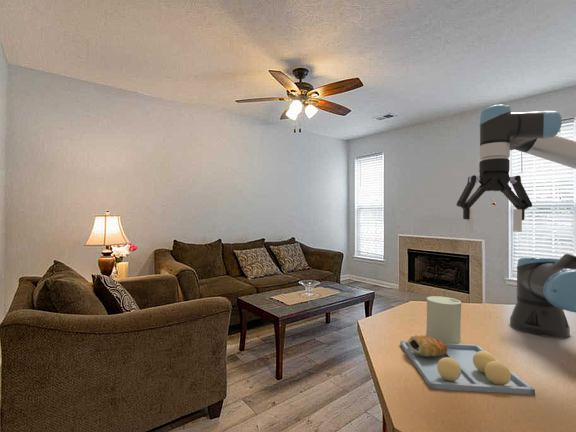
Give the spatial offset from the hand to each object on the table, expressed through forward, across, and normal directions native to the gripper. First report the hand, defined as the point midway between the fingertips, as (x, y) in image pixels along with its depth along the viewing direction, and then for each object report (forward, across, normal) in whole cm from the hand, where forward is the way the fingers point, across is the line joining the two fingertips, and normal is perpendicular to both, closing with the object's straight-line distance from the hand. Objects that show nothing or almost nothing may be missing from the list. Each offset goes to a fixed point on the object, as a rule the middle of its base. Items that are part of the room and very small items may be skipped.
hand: (493, 231), depth 94 cm
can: (+32, +15, +3) cm, 35 cm away
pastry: (+30, +24, +16) cm, 42 cm away
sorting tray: (+32, +19, +21) cm, 42 cm away
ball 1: (+31, +14, +23) cm, 41 cm away
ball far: (+31, +24, +28) cm, 48 cm away
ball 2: (+31, +14, +28) cm, 44 cm away
